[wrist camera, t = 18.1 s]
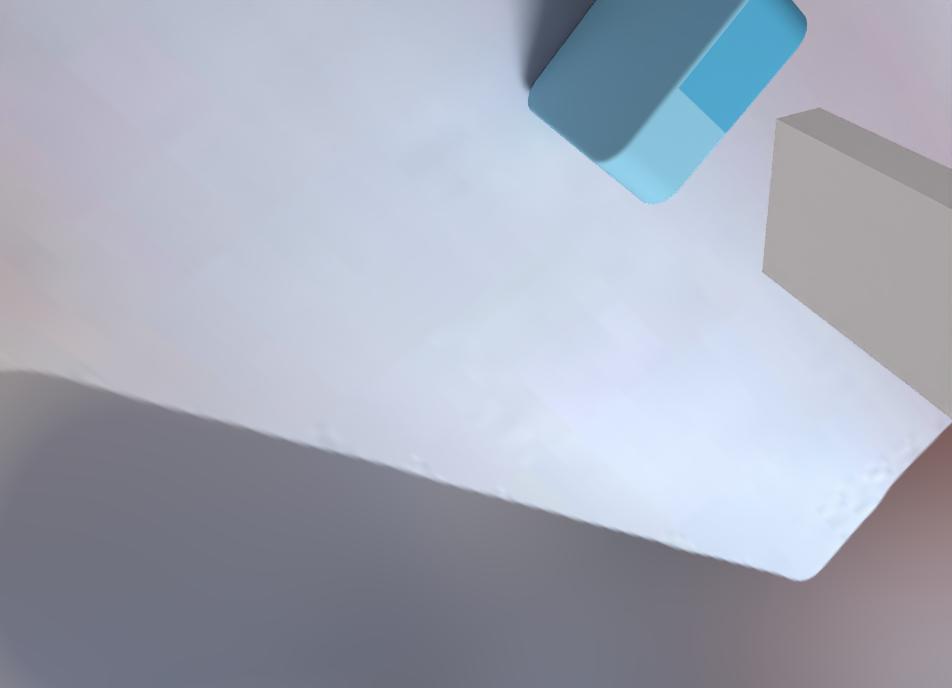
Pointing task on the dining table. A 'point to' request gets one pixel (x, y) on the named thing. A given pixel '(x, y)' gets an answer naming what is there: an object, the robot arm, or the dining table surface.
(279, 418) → the dining table surface
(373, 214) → the dining table surface
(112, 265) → the dining table surface
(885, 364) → the robot arm
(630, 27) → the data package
